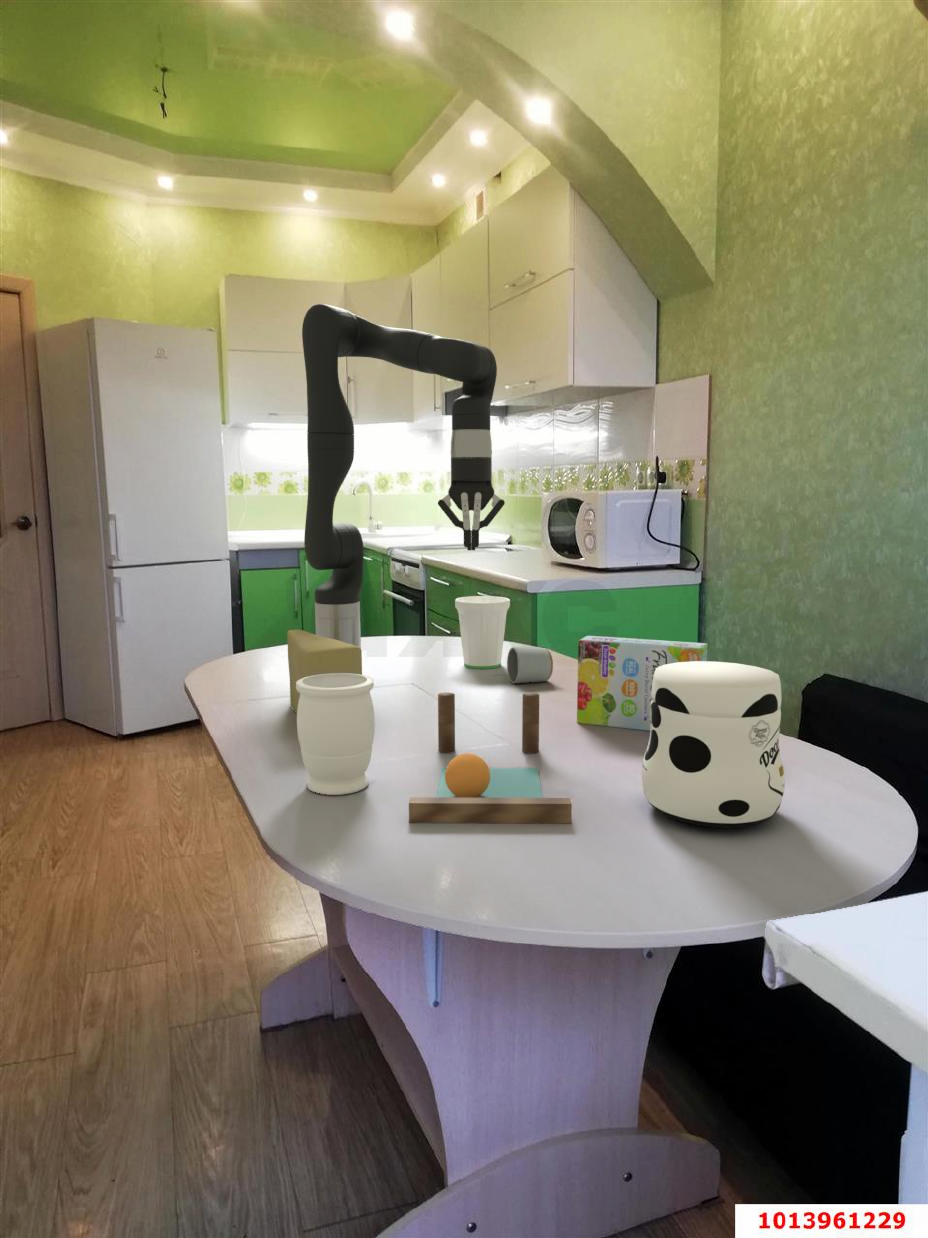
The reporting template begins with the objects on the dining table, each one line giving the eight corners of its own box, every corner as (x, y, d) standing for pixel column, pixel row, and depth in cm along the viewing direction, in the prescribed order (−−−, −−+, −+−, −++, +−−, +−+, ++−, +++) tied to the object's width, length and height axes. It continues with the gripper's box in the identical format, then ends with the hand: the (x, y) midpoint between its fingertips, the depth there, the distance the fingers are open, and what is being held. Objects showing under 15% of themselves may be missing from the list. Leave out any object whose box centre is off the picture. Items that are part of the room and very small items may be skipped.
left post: (438, 753, 134) (437, 696, 132) (438, 748, 136) (438, 692, 135) (454, 753, 134) (454, 696, 132) (455, 748, 136) (454, 692, 135)
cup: (447, 668, 195) (446, 601, 192) (467, 658, 206) (467, 594, 204) (498, 672, 190) (499, 604, 188) (516, 662, 201) (517, 597, 199)
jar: (388, 778, 123) (386, 674, 120) (355, 803, 113) (353, 691, 111) (321, 770, 126) (318, 669, 124) (284, 794, 116) (280, 685, 114)
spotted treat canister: (813, 830, 104) (822, 684, 101) (685, 847, 99) (691, 694, 96) (730, 782, 120) (735, 656, 117) (617, 795, 115) (620, 664, 112)
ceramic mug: (555, 684, 179) (555, 647, 178) (518, 687, 177) (518, 650, 176) (536, 674, 189) (536, 640, 188) (501, 677, 187) (500, 642, 186)
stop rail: (409, 822, 106) (408, 803, 106) (410, 816, 108) (410, 797, 108) (571, 823, 106) (571, 803, 106) (569, 817, 108) (570, 798, 108)
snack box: (705, 729, 146) (708, 642, 144) (699, 738, 141) (703, 648, 139) (584, 716, 155) (586, 633, 153) (575, 723, 150) (576, 638, 148)
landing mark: (435, 804, 112) (435, 803, 112) (441, 769, 126) (441, 768, 126) (543, 805, 112) (543, 803, 112) (536, 769, 126) (536, 768, 126)
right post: (522, 753, 133) (522, 696, 132) (521, 748, 136) (522, 692, 135) (539, 753, 133) (539, 696, 132) (538, 748, 136) (538, 692, 135)
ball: (442, 804, 112) (443, 759, 111) (446, 789, 118) (447, 747, 117) (488, 807, 111) (490, 761, 111) (490, 792, 117) (491, 749, 117)
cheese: (268, 709, 160) (265, 630, 158) (318, 702, 165) (315, 625, 163) (310, 739, 142) (307, 649, 139) (365, 730, 146) (363, 644, 144)
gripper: (434, 455, 155) (435, 551, 157) (507, 454, 154) (507, 551, 157) (436, 456, 162) (437, 548, 165) (506, 456, 162) (506, 548, 165)
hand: (471, 549), depth 161 cm, fingers closed
